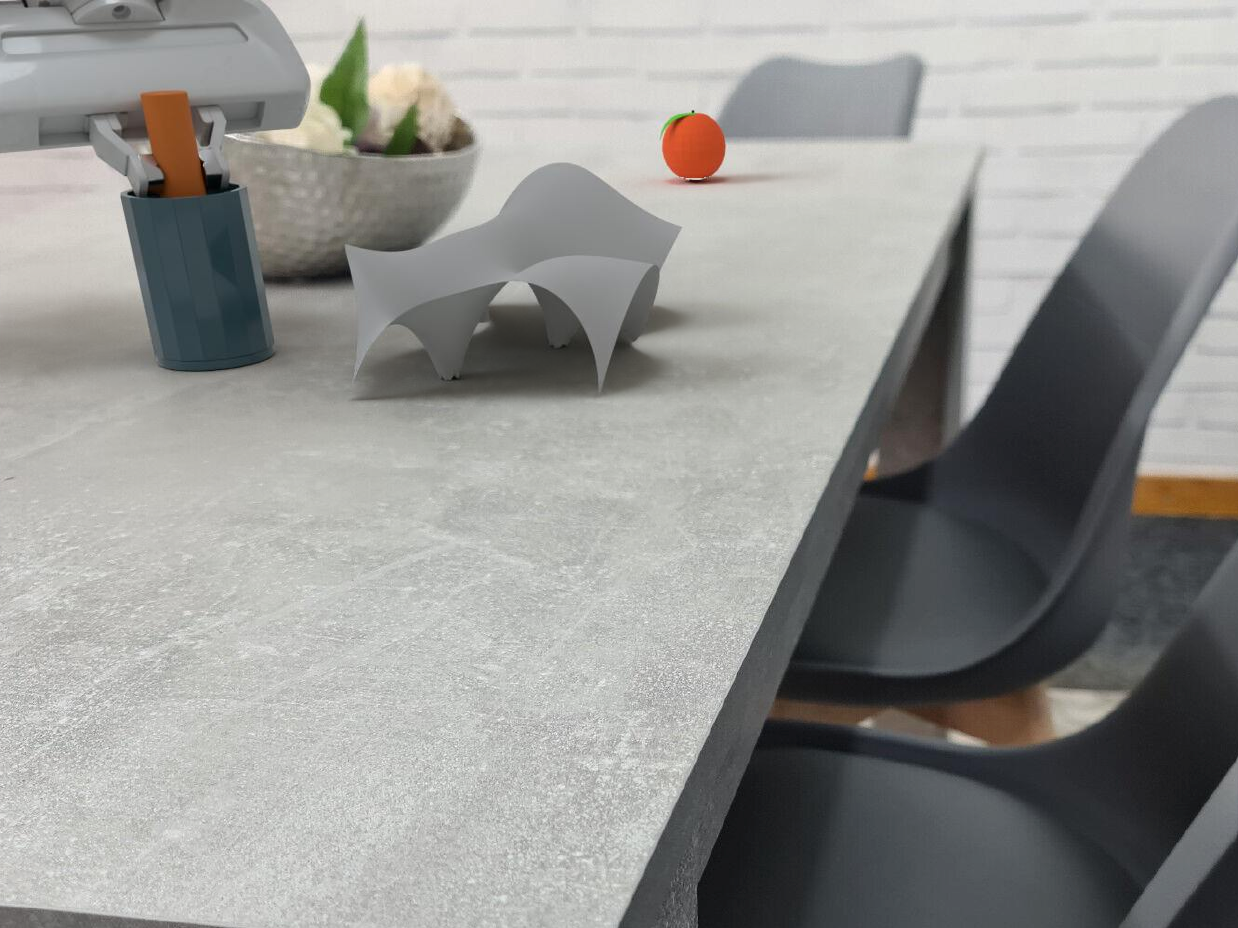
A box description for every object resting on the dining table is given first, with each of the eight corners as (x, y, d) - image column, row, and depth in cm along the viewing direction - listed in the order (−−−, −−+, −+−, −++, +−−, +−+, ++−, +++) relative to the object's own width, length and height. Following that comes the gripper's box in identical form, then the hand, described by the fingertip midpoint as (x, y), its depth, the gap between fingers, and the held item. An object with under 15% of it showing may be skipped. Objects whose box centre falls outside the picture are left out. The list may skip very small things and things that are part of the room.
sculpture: (662, 396, 81) (653, 213, 76) (330, 399, 82) (301, 219, 77) (691, 301, 103) (686, 155, 98) (429, 305, 104) (411, 160, 99)
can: (157, 376, 87) (119, 202, 82) (156, 350, 93) (120, 186, 88) (279, 363, 89) (249, 192, 85) (271, 338, 95) (242, 178, 90)
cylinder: (179, 291, 88) (139, 95, 82) (178, 284, 90) (139, 91, 85) (224, 288, 89) (187, 92, 83) (222, 280, 91) (186, 89, 85)
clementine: (681, 188, 152) (678, 115, 149) (642, 182, 157) (639, 111, 154) (739, 180, 157) (738, 109, 153) (700, 174, 161) (698, 105, 158)
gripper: (-92, -38, 80) (-1, 166, 78) (264, -45, 91) (352, 134, 89) (-85, 48, 85) (1, 241, 83) (250, 32, 96) (334, 203, 94)
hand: (185, 186), depth 86 cm, fingers closed on cylinder, 2 cm apart
